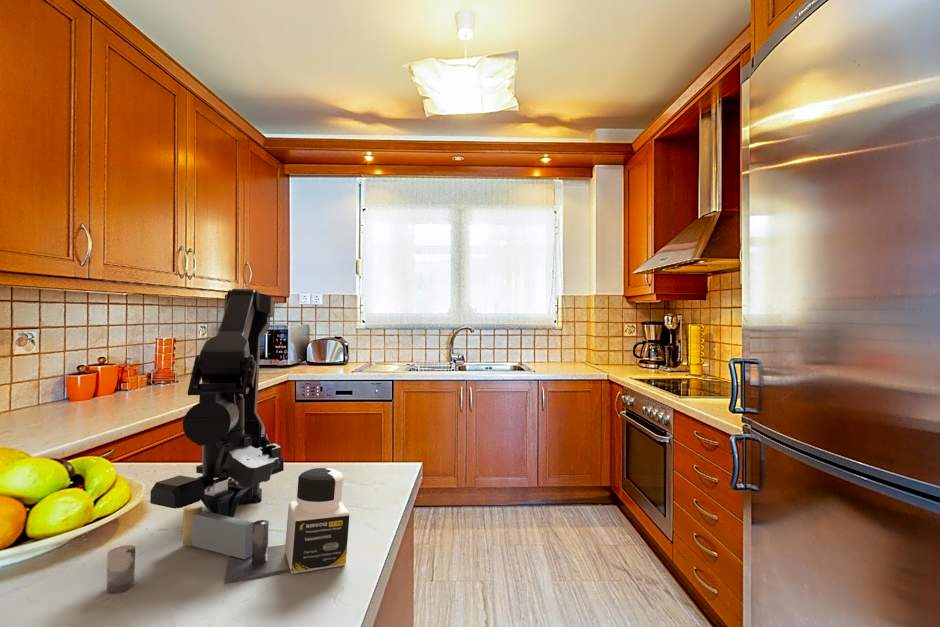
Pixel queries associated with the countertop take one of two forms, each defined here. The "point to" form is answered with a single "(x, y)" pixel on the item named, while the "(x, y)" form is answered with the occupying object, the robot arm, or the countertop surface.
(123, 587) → the post
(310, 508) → the medicine bottle
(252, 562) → the peg on base plate
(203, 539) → the gate
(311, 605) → the countertop surface
